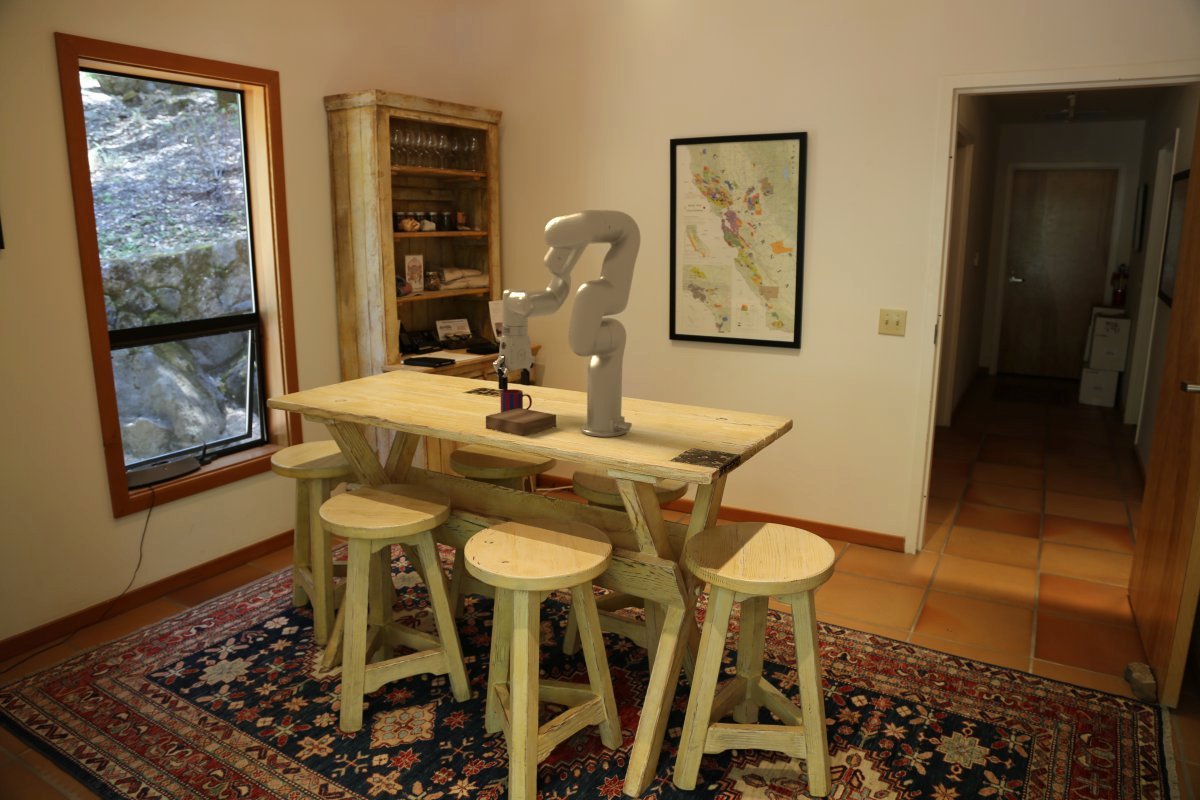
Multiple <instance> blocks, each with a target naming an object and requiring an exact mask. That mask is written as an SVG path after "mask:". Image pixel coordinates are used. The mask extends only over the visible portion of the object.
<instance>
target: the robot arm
mask: <svg viewBox="0 0 1200 800" xmlns="http://www.w3.org/2000/svg"><path fill="white" fill-rule="evenodd" d="M543 237H544V240H545V243H546V244H547V245H548V247H549V249H548V250H547V252H546V254H545V256H544V257H543V264H544V267H546V269H547V270H548V271H549V272H550V273H551V274H552V275H553V276H552V278H551V281H550V282H549V284H548V285H547V287H546V289H538V290H537V289H536V290H528V291H527V289H521V288H508V289H505V290H503V292H502V322H501V323H502V324H501V325H502V327H501V328H502V329H501V335H502V336H500V337H501V338H500V343H499V349H498V350H499V352H498V358H497V359H496V360H495V361H493V363H492V367H493V368H494V372H495V373H496V376H497V377H498V390H500V391H502V390H508V389H509V387H508V385H509V383H508V382H509V381H508V380H509V378H508V374H509V372H510V371H517V370H519V371H520V370H522V371H520V384H521V385H522V386H528V387H530V383H531V379H530V378H531V372H532V368H533V367H534V363H535V362H536V361H535V360H536V356H534V355H533V354H532V344H531V338H530V337H531V336H530V334H529V333H528V329H529V318H537V317H545V316H552V315H554V314H556V313H557V312H558V311H559V310H560V309H561V307H562V306H563V304H564V303H565V302H566V299H568V296H569V295H570V291H571V287H572V277H571V276H572V275H571V273H572V271H573V270H574V268H575V266H576V265H577V264H578V261H579V260H580V258H581V257H582V255H583V254H584V252H585V250H586V249H587V248H588V245H590V244H595V245H596V244H610V248H609V249H608V250H607V252H606V254H605V256H604V257H603V261H602V264H601V270H600V275H599V278H598V279H595V280H593V279H592V280H587V281H586V282H583V284H580V286H579V288H578V289H577V291H576V293H575V295H574V299H573V303H572V304H573V305H572V309H571V316H570V322H569V327H568V333H567V334H568V336H567V337H568V339H567V340H568V345H569V349H570V350H571V351H572V352H573V353H574V355H576V356H578V357H583V358H585V357H590V358H589V361H588V364H587V377H586V378H587V381H586V382H587V385H586V386H587V387H586V389H587V390H586V392H587V393H586V394H587V396H586V402H587V403H586V410H587V411H586V424H583V425H582V426H581V428H580V429H581V431H580V432H581V433H582V434H583V435H587V436H591V437H606V438H607V437H617V436H622V435H624V434H626V433H628V432H629V431H630V430H631V428H632V425H633V424H632V422H627V421H626V420H625V416H622V405H623V404H622V399H623V395H622V394H623V393H622V392H623V391H622V390H623V389H622V388H623V362H624V355H625V354H624V353H625V349H626V343H627V332H626V328H625V326H624V324H623V323H622V322H621V321H619V320H618V319H615V318H611V317H607V316H615V315H618V314H621V313H622V312H624V311H625V310H626V309H627V306H628V303H629V299H630V293H631V287H632V283H633V276H634V271H635V267H636V266H635V265H636V262H637V260H638V259H637V258H638V255H639V251H640V247H641V238H642V237H641V231H640V227H639V226H638V224H637V222H636V221H635V219H634V218H633V217H632V216H631V215H629V214H628V213H625V212H624V211H619V210H611V209H610V210H607V209H606V210H605V209H603V210H599V209H588V210H587V209H586V210H581V211H576V212H572V213H568V214H564V215H560V216H555V217H553V218H551V219H550V220H549V221H548V222H547V224H546V225H545V228H544V231H543ZM605 316H606V317H605Z"/></svg>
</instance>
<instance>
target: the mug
mask: <svg viewBox="0 0 1200 800" xmlns="http://www.w3.org/2000/svg"><path fill="white" fill-rule="evenodd" d="M523 397H527V398H528V400H529V405H528V407H526V408H525V409H528V410H530V408H531V407H532V405H533V402H532V401H533V400H532V396H531V395H529V394H528V393H526V394H525V393H524V392H523V390H522V389H514V388H513V389H510V388H508V389H507V390H500V413H501V412H505V411H509V410H513V409H518V408H522V409H524V398H523Z"/></svg>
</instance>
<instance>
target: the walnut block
mask: <svg viewBox="0 0 1200 800" xmlns="http://www.w3.org/2000/svg"><path fill="white" fill-rule="evenodd" d="M556 427H557V414H554V413H548V412H543V411H538V410H532V409H526V408H523V409H522V408H518V409H513V410H509V411H505V412H501V411H500V412H497V413H492V414H488V415H486V416H485V429H487V430H491V429H492V430H493V431H495V430H497V431H496V432H500V431H501V433H506V434H509V433H511V434H510V435H514V434H515V435H516V436H520V437H525V436H529V435H532V434H536V433H539V432H543V431H547V430H551V429H554V428H556ZM492 430H491V431H492Z"/></svg>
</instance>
